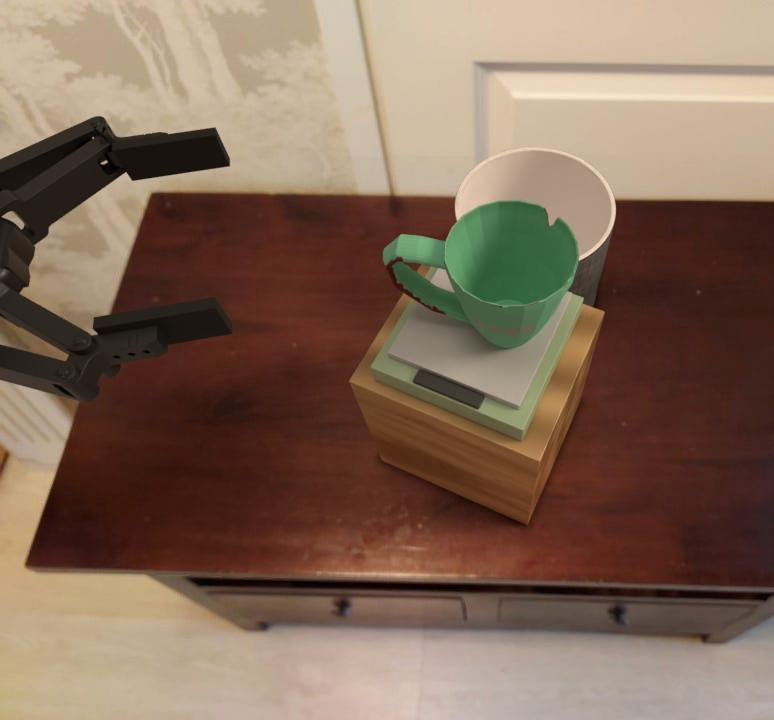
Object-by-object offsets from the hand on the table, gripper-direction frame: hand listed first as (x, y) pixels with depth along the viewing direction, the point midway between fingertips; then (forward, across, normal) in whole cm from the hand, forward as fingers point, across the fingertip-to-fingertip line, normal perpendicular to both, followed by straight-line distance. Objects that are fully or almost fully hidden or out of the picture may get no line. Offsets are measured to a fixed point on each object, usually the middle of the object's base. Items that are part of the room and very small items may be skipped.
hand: (224, 224), depth 40 cm
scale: (+16, 0, -20) cm, 25 cm away
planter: (+26, -19, -40) cm, 51 cm away
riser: (+16, 0, -40) cm, 43 cm away
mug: (+16, 0, -17) cm, 23 cm away
